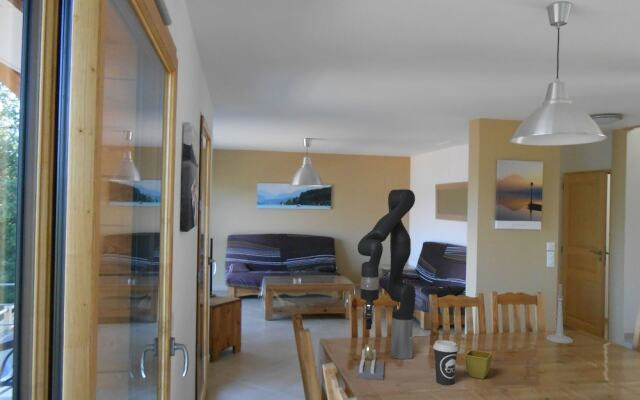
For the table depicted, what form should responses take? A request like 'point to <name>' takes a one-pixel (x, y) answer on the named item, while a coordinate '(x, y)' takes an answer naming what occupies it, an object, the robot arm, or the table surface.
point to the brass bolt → (368, 354)
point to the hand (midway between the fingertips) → (369, 326)
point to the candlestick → (559, 322)
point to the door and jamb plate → (371, 367)
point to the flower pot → (478, 363)
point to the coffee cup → (445, 361)
